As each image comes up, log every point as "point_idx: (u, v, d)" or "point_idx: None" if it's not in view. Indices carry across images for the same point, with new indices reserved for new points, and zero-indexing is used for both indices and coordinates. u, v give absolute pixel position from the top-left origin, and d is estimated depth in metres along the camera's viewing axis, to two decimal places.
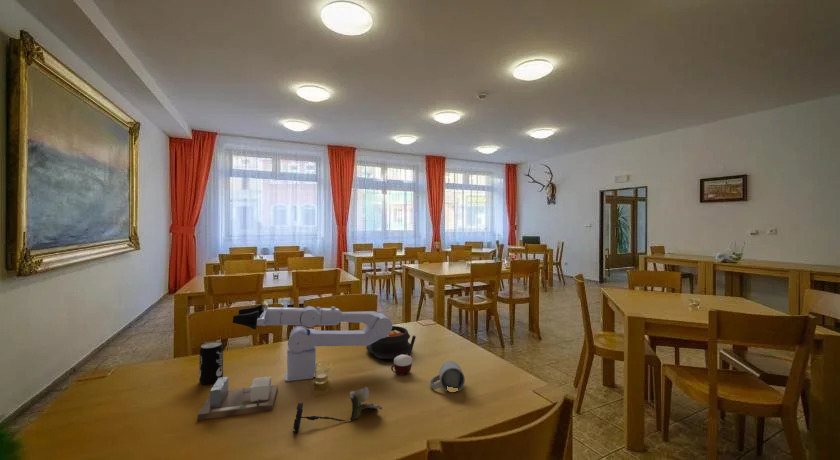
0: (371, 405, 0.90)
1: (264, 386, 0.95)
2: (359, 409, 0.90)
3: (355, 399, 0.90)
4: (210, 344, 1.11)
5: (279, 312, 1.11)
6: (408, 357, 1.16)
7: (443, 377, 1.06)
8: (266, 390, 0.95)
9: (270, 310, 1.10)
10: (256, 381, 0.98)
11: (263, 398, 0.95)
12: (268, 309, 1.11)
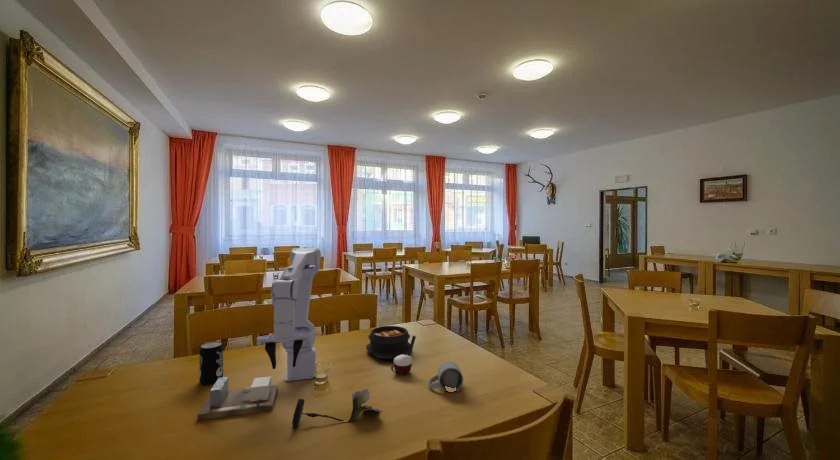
0: (370, 408, 0.88)
1: (264, 386, 0.95)
2: (359, 411, 0.89)
3: (355, 400, 0.89)
4: (210, 344, 1.11)
5: (291, 323, 0.98)
6: (408, 357, 1.16)
7: (442, 377, 1.06)
8: (266, 390, 0.95)
9: (289, 333, 0.97)
10: (256, 381, 0.98)
11: (263, 398, 0.95)
12: (288, 336, 0.97)
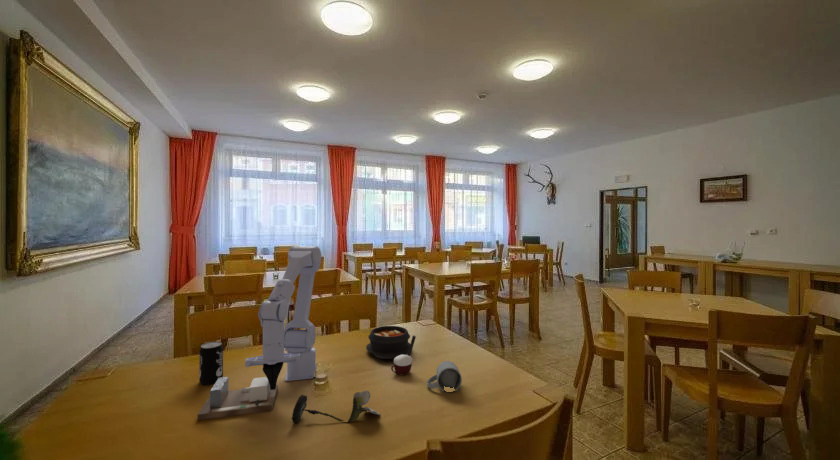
0: (368, 410, 0.87)
1: (263, 386, 0.95)
2: (358, 412, 0.88)
3: (354, 401, 0.89)
4: (210, 344, 1.11)
5: (280, 344, 0.97)
6: (408, 357, 1.16)
7: (440, 377, 1.06)
8: (265, 390, 0.95)
9: (278, 355, 0.97)
10: (255, 381, 0.98)
11: (262, 398, 0.95)
12: (276, 358, 0.96)
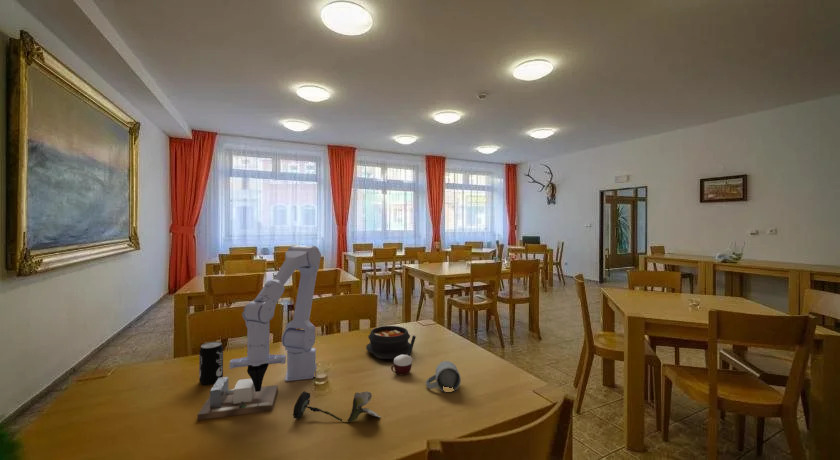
0: (367, 411, 0.86)
1: (248, 387, 0.94)
2: (357, 412, 0.88)
3: (354, 401, 0.89)
4: (210, 344, 1.11)
5: (265, 346, 0.96)
6: (408, 357, 1.16)
7: (439, 377, 1.06)
8: (249, 392, 0.94)
9: (263, 356, 0.96)
10: (240, 383, 0.97)
11: (246, 400, 0.94)
12: (261, 359, 0.95)
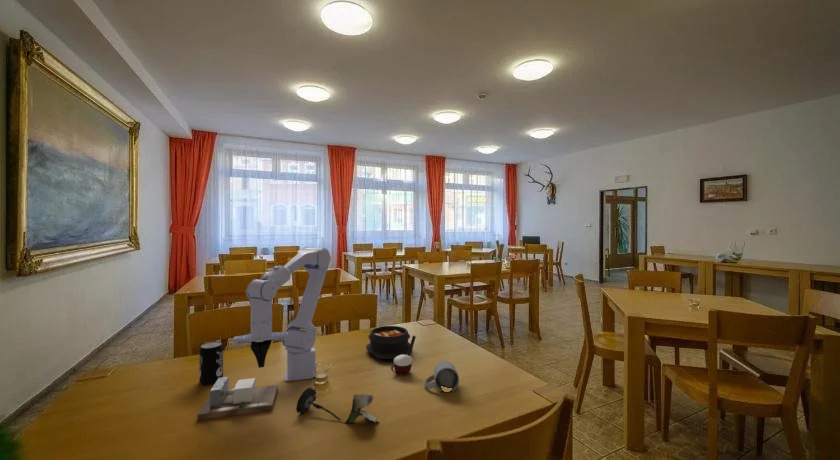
0: (363, 415, 0.85)
1: (248, 387, 0.94)
2: (355, 414, 0.87)
3: (353, 403, 0.88)
4: (210, 344, 1.11)
5: (268, 323, 0.98)
6: (408, 357, 1.16)
7: (437, 377, 1.06)
8: (249, 392, 0.94)
9: (266, 333, 0.98)
10: (240, 383, 0.97)
11: (246, 400, 0.94)
12: (264, 336, 0.98)
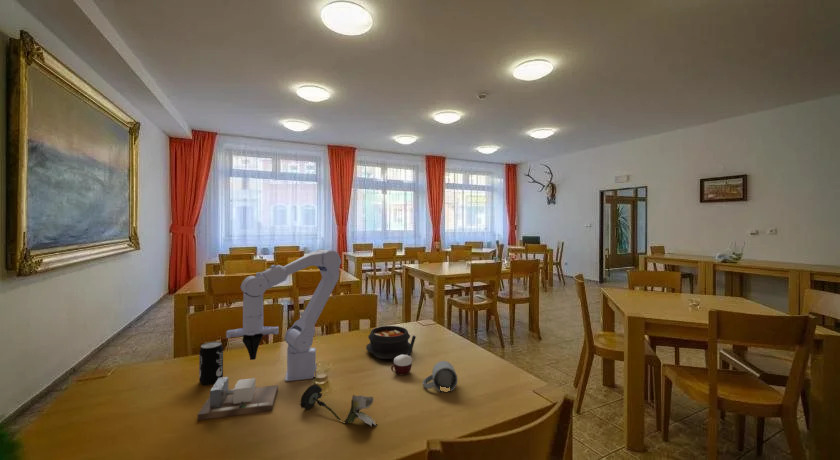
0: (359, 416, 0.84)
1: (248, 387, 0.94)
2: (352, 415, 0.87)
3: (351, 403, 0.88)
4: (210, 344, 1.11)
5: (259, 317, 1.04)
6: (408, 357, 1.16)
7: (436, 377, 1.06)
8: (249, 392, 0.94)
9: (257, 327, 1.03)
10: (240, 383, 0.97)
11: (246, 400, 0.94)
12: (256, 329, 1.03)
